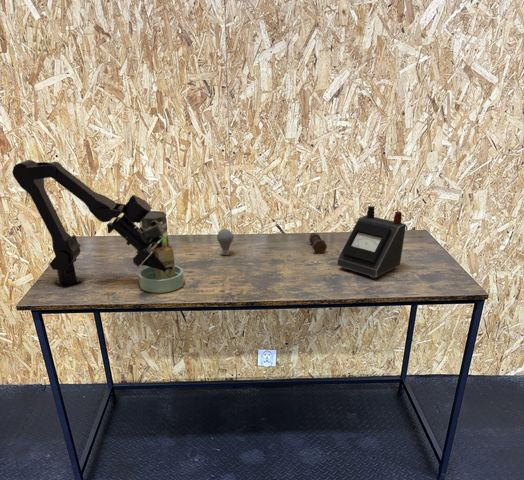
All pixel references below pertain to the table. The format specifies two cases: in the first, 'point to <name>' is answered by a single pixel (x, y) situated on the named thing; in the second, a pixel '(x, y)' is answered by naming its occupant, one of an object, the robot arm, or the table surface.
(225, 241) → the light bulb
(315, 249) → the bolt
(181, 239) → the table surface
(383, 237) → the voltmeter
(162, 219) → the coffee can
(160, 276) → the shoe polish box
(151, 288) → the basin
